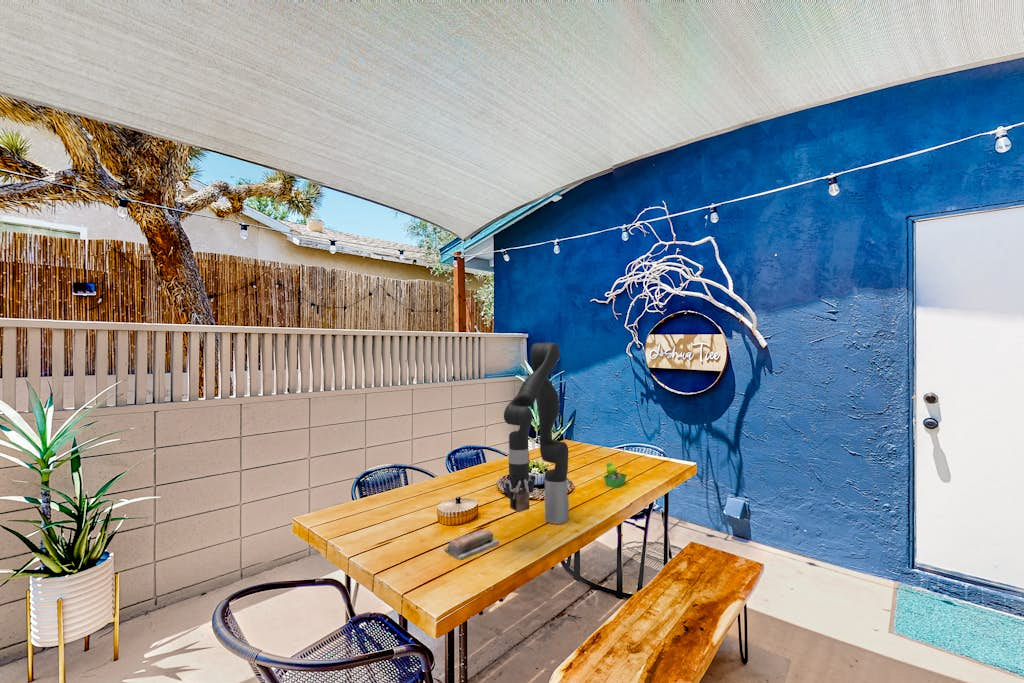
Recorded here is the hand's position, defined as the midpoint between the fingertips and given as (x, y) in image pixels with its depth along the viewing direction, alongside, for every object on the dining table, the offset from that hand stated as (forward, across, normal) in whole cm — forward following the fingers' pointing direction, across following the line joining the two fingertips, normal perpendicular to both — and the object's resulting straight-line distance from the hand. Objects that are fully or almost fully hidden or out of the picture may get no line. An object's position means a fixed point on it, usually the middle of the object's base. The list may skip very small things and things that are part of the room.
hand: (519, 506), depth 157 cm
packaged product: (+15, +14, -10) cm, 23 cm away
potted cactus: (+16, -82, -25) cm, 87 cm away
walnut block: (+1, 0, 0) cm, 1 cm away
